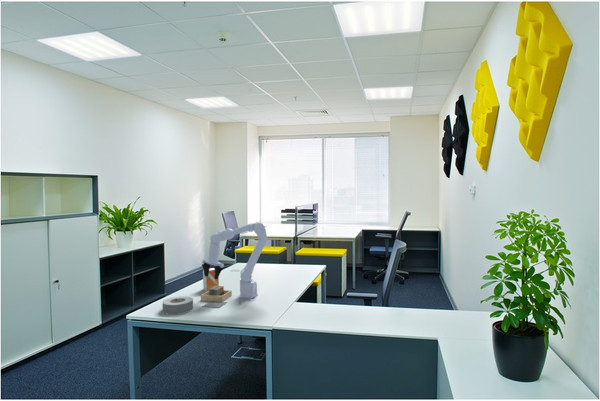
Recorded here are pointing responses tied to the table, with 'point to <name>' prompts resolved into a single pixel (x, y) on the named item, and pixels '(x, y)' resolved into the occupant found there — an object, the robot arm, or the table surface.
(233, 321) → the table surface
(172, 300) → the tape roll
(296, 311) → the table surface
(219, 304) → the panel
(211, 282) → the small box
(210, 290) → the box
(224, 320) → the table surface
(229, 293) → the shallow wooden tray
